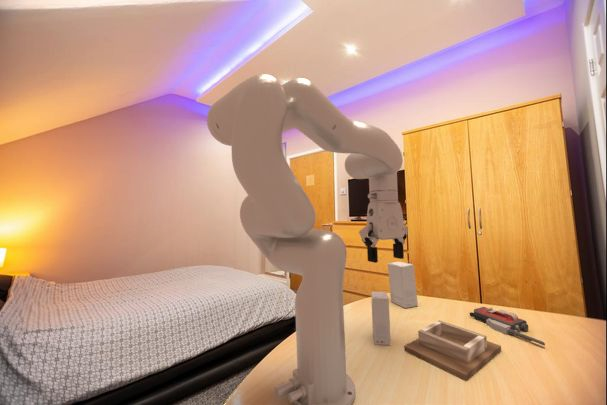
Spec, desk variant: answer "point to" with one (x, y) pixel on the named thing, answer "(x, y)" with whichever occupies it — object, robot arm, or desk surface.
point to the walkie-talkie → (503, 322)
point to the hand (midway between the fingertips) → (386, 259)
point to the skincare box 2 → (402, 284)
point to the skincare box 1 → (380, 318)
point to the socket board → (453, 349)
